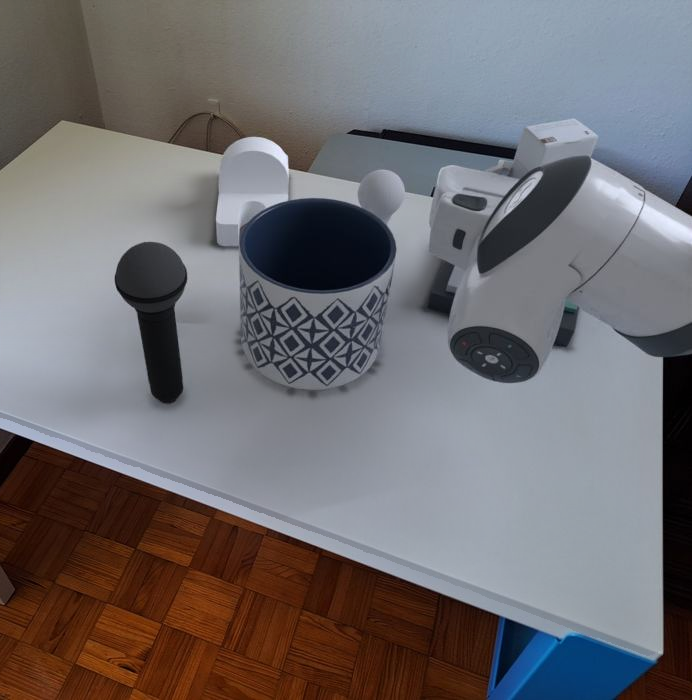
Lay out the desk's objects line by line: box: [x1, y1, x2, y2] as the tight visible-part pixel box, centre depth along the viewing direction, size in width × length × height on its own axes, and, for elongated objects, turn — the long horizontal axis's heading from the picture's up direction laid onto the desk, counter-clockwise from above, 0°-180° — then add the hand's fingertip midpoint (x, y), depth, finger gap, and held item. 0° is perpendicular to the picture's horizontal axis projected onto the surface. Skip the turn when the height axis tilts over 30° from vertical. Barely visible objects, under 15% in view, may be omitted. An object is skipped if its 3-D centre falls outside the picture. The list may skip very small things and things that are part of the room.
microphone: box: [114, 241, 188, 405], centre depth 67 cm, size 7×7×20 cm
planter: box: [238, 197, 398, 391], centre depth 74 cm, size 16×16×14 cm
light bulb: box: [357, 169, 406, 226], centre depth 89 cm, size 6×6×10 cm
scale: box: [426, 260, 580, 347], centre depth 83 cm, size 16×14×4 cm
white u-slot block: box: [215, 136, 290, 247], centre depth 95 cm, size 10×18×10 cm, turn 176°
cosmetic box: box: [509, 118, 599, 179], centre depth 73 cm, size 6×4×12 cm
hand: (544, 174), depth 73 cm, fingers closed on cosmetic box, 7 cm apart
